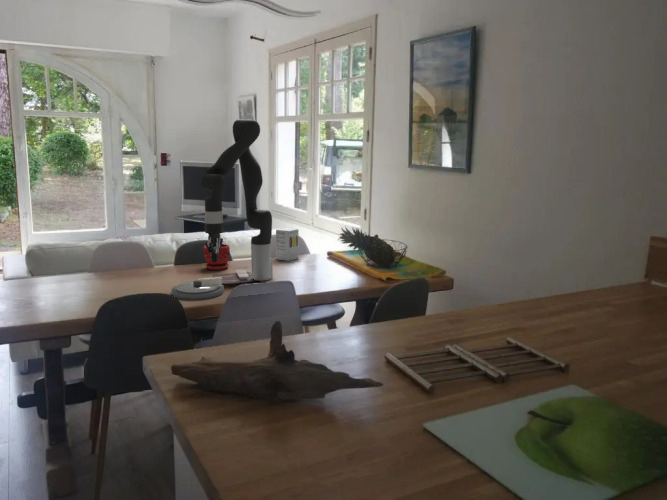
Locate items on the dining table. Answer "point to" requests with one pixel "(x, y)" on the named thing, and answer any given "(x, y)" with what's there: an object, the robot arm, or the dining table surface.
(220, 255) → the plant pot
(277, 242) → the supplement box
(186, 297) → the dial base
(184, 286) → the dial
